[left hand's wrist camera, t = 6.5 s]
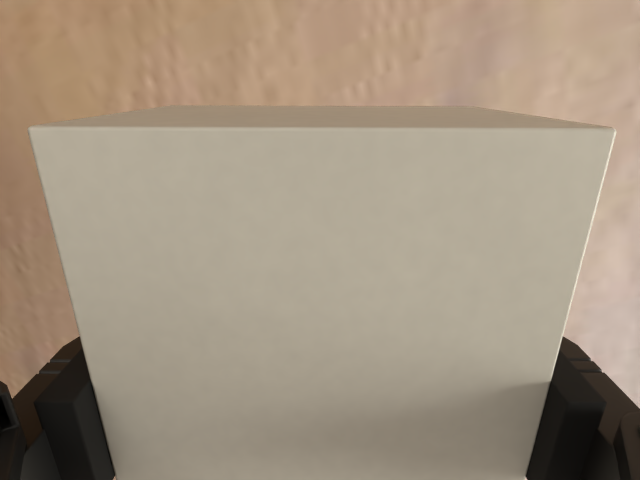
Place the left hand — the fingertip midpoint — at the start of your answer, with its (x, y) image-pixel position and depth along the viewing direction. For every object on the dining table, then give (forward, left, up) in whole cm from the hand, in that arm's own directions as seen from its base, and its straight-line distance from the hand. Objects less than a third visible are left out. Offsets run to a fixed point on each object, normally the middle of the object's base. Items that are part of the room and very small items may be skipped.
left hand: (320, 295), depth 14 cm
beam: (+25, +5, -1) cm, 25 cm away
